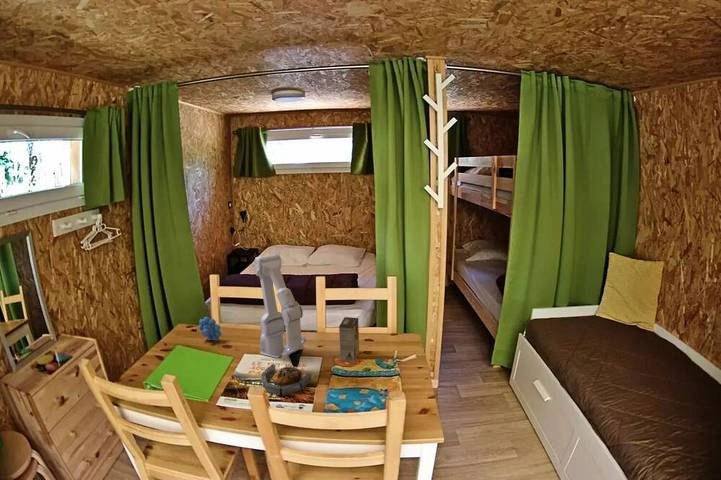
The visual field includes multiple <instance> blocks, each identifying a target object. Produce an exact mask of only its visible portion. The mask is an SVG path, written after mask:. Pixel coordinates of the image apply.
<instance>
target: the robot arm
mask: <svg viewBox="0 0 721 480" xmlns="http://www.w3.org/2000/svg"><path fill="white" fill-rule="evenodd" d="M253 267H254V274H255V275H256V276H257V277H259V281H260V287H261V293H262V298H263V304H264V311H265V313H264V314H263V316H262V317H261V318H260V332H261V334H260V339H259V342H260V343H259V344H260V352H259V355H262V356H265V357H270V358H271V357H272V358H276V359H278V358H280V357H281V358H282V359H284V360H287V359H289V360H290V362H291V367H295V368H298V367H299V365H300V360H301V357H302V354H303V351H304V348H305V345H304V343H306V342H307V337H305V336H302V326H301V319H302V318H303V315H304V311H303V309H302V306H301V305H300V304H299V302H298V301H296V300H295V298H294V294H293V293H292V291H291V288H287V286H286V283H285V281H284V280H285V279H284V276H283V274H282V271H281V269H282V259H281V256H280V255H279V254H278V253H272V254H267V255H263V256H256V257H255V259H254V260H253ZM274 286H275V289H276V290H277V293H276V294H275V289H274ZM276 298H277V300H278V302H279V305H280V307H281V309H282V312H280V311H279V310H278V307H277V300H276ZM284 333H285V337H286V338H285V339H286V345H285V347H284V335H283V334H284Z"/></svg>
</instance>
